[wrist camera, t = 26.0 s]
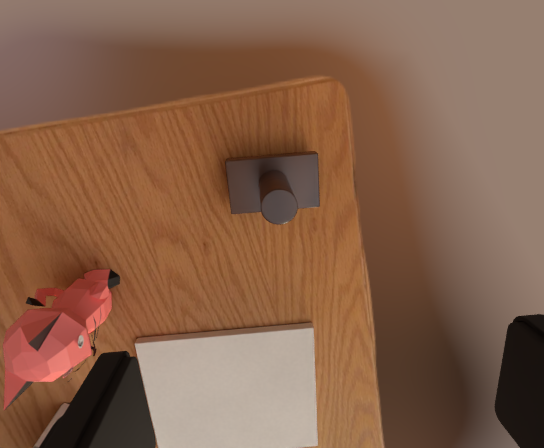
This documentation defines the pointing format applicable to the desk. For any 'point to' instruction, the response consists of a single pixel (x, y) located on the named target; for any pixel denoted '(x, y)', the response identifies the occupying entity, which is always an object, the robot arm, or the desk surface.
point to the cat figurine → (56, 332)
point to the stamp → (273, 184)
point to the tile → (232, 387)
